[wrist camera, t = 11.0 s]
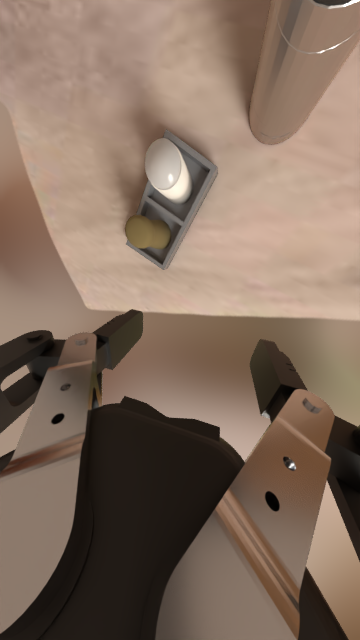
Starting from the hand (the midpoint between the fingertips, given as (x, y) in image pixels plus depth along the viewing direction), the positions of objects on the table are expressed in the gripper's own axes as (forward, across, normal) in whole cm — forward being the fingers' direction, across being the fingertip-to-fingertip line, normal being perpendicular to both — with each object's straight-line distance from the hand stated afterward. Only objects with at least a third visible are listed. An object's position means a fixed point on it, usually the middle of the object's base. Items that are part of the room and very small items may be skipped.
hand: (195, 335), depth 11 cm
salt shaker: (+29, +10, -15) cm, 34 cm away
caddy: (+30, +12, -10) cm, 34 cm away
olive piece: (+29, +14, -6) cm, 33 cm away
